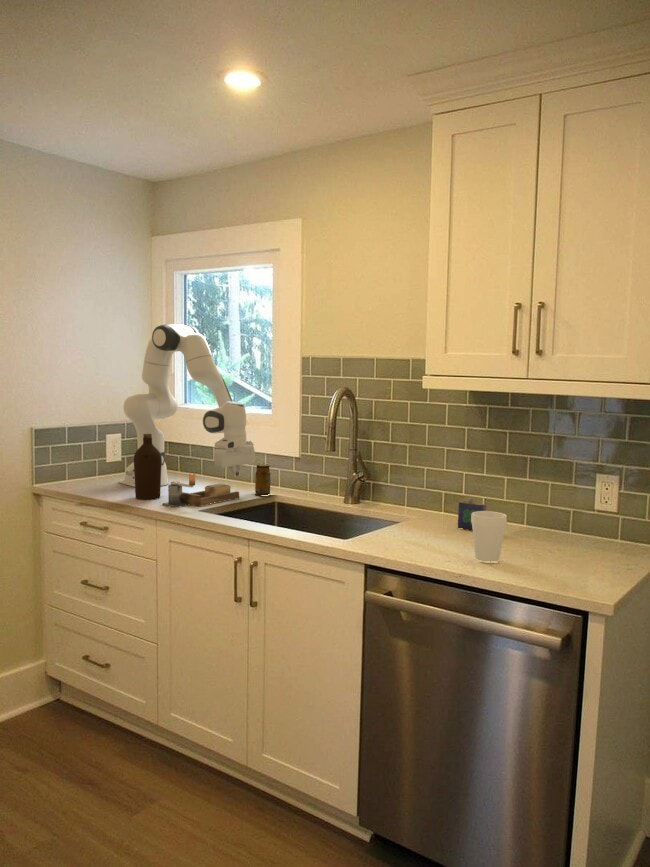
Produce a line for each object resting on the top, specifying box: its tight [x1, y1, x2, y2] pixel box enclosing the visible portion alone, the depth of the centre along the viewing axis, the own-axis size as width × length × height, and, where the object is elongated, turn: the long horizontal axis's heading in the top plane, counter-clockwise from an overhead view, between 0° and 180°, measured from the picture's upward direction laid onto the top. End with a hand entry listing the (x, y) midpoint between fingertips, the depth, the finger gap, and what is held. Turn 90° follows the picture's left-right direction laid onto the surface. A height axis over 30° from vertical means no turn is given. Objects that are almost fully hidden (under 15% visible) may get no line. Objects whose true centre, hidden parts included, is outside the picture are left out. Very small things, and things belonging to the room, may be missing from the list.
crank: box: [170, 473, 196, 488], centre depth 266 cm, size 12×3×5 cm, turn 53°
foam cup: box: [471, 510, 508, 562], centre depth 200 cm, size 10×9×13 cm
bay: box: [182, 490, 240, 507], centre depth 280 cm, size 12×22×4 cm, turn 143°
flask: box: [457, 497, 487, 531], centre depth 237 cm, size 9×3×11 cm, turn 59°
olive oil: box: [133, 434, 162, 501], centre depth 282 cm, size 11×11×25 cm
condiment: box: [250, 463, 271, 496], centre depth 293 cm, size 7×8×12 cm
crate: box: [204, 483, 231, 497], centre depth 284 cm, size 6×8×5 cm
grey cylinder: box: [162, 484, 189, 508], centre depth 269 cm, size 7×7×8 cm
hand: (235, 476), depth 291 cm, fingers closed
